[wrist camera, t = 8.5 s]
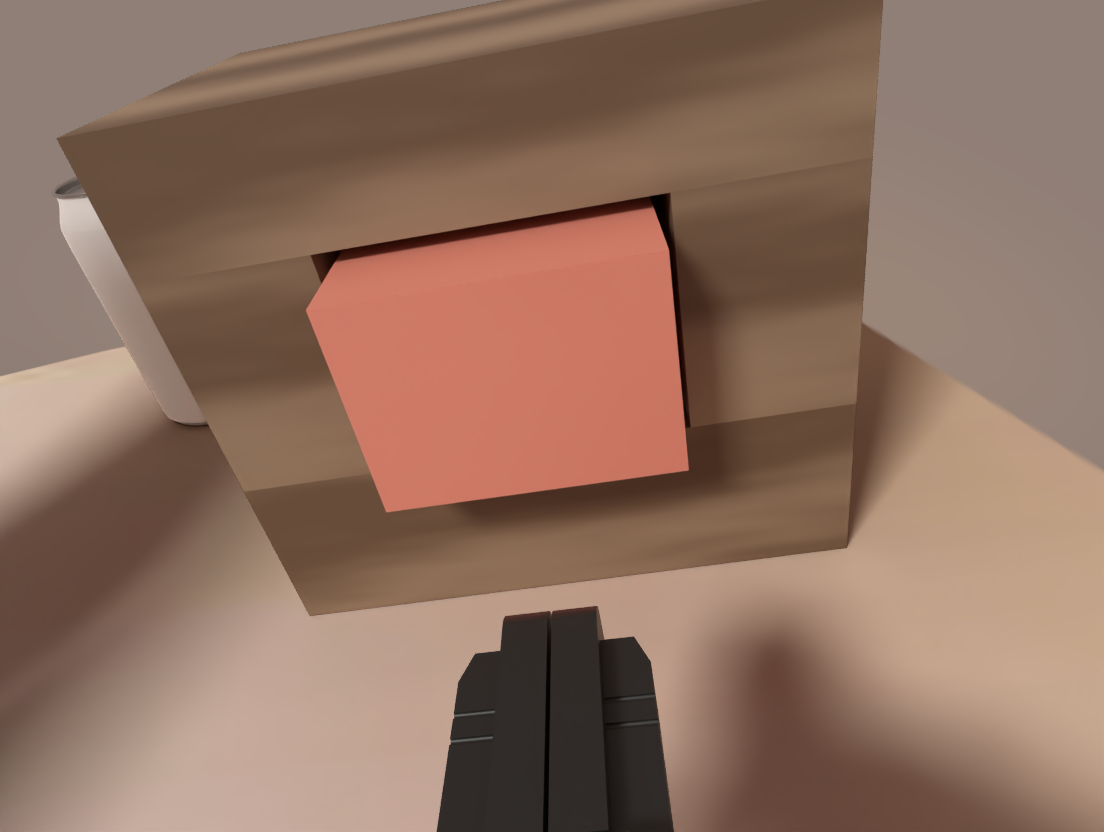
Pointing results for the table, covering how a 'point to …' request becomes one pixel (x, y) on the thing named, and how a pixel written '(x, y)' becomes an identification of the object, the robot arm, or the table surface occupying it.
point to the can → (124, 304)
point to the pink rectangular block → (508, 355)
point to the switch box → (501, 195)
